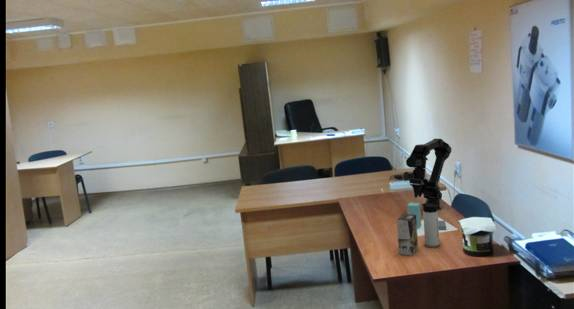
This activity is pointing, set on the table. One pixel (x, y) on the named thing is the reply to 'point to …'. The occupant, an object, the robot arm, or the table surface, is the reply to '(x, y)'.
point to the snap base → (441, 225)
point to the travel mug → (431, 225)
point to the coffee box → (407, 234)
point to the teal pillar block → (415, 212)
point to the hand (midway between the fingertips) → (417, 197)
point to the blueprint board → (448, 228)
